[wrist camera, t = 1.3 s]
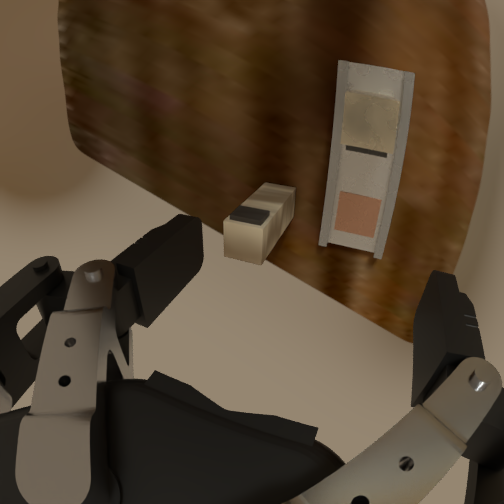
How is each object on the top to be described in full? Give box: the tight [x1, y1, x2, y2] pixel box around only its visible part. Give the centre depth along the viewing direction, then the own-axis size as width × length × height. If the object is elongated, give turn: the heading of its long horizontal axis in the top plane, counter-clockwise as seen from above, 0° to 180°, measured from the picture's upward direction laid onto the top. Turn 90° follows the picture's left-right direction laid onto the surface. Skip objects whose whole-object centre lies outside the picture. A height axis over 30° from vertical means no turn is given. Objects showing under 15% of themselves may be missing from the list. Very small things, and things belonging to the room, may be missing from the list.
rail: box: [319, 60, 415, 259], centre depth 29 cm, size 22×8×13 cm, turn 178°
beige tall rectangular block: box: [224, 183, 296, 265], centre depth 36 cm, size 4×4×12 cm
